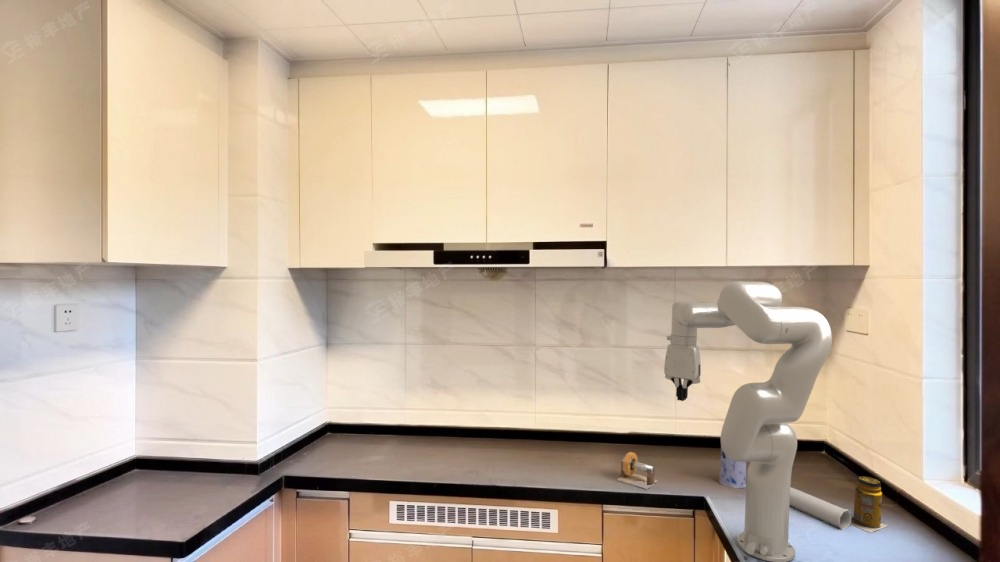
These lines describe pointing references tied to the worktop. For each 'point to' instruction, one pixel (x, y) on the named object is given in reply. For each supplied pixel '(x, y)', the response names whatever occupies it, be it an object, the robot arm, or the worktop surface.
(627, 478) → the base board
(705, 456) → the worktop surface
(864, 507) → the condiment
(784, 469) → the robot arm
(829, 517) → the tube
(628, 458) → the o ring
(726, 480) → the aerosol can
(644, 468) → the pipe
